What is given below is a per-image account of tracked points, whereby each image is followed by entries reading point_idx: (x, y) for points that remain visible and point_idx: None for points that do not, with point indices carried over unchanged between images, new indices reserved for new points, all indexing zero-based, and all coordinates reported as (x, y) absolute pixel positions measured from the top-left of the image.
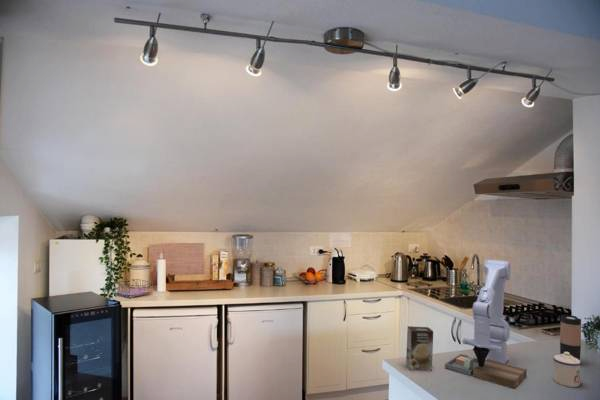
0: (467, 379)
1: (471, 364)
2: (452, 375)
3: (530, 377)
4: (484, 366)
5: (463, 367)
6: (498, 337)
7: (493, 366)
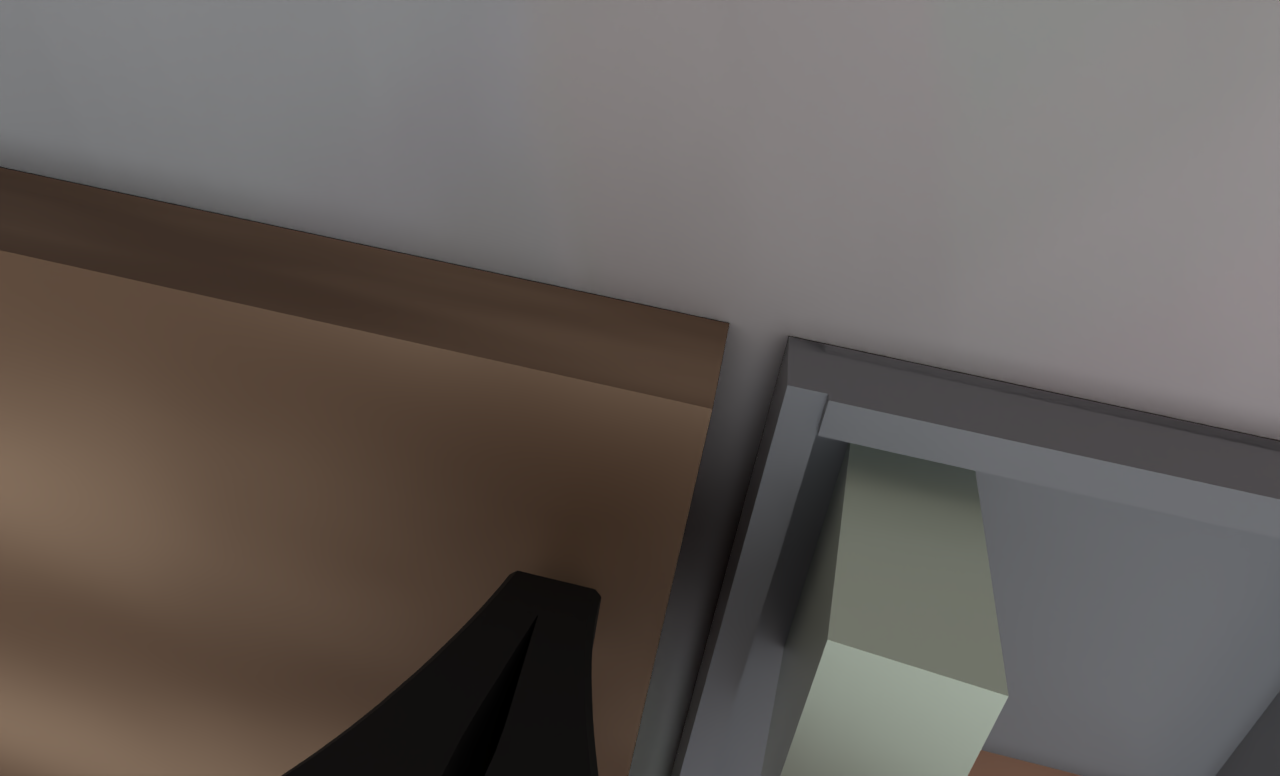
0: (835, 65)
1: (798, 660)
2: (1271, 100)
3: None
4: None
5: None
6: None
7: None
